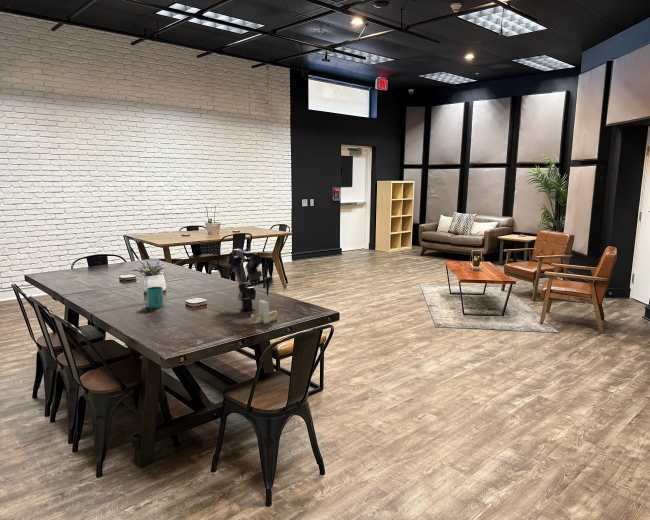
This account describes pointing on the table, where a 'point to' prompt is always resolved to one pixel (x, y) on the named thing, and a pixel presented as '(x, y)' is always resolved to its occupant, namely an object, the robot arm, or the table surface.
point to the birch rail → (258, 319)
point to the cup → (155, 297)
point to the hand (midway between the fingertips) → (259, 298)
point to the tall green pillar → (264, 310)
